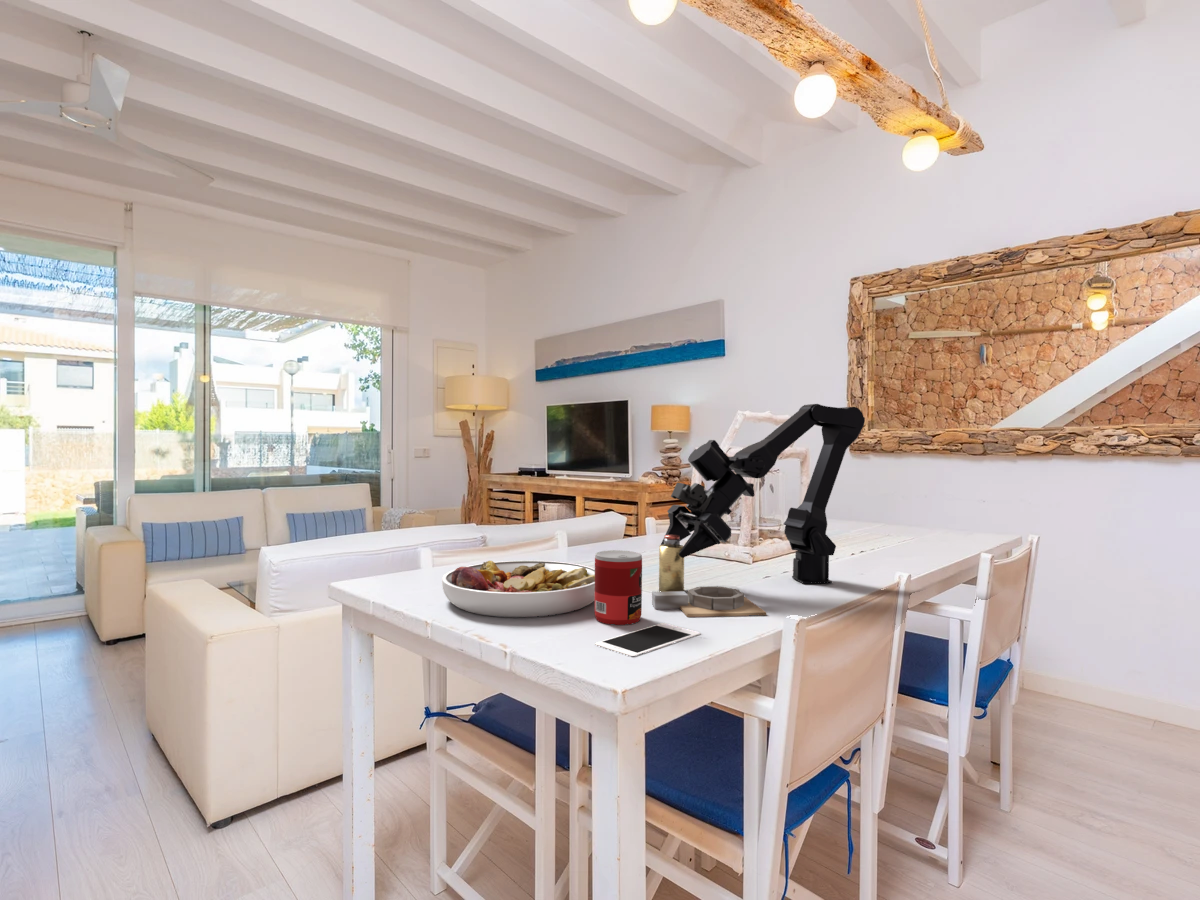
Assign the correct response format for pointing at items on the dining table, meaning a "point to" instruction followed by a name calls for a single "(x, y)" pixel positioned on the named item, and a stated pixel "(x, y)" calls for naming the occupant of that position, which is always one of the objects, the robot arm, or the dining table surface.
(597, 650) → the dining table surface
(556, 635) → the dining table surface
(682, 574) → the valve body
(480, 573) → the bowl
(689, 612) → the socket
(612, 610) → the canned food
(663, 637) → the cell phone
